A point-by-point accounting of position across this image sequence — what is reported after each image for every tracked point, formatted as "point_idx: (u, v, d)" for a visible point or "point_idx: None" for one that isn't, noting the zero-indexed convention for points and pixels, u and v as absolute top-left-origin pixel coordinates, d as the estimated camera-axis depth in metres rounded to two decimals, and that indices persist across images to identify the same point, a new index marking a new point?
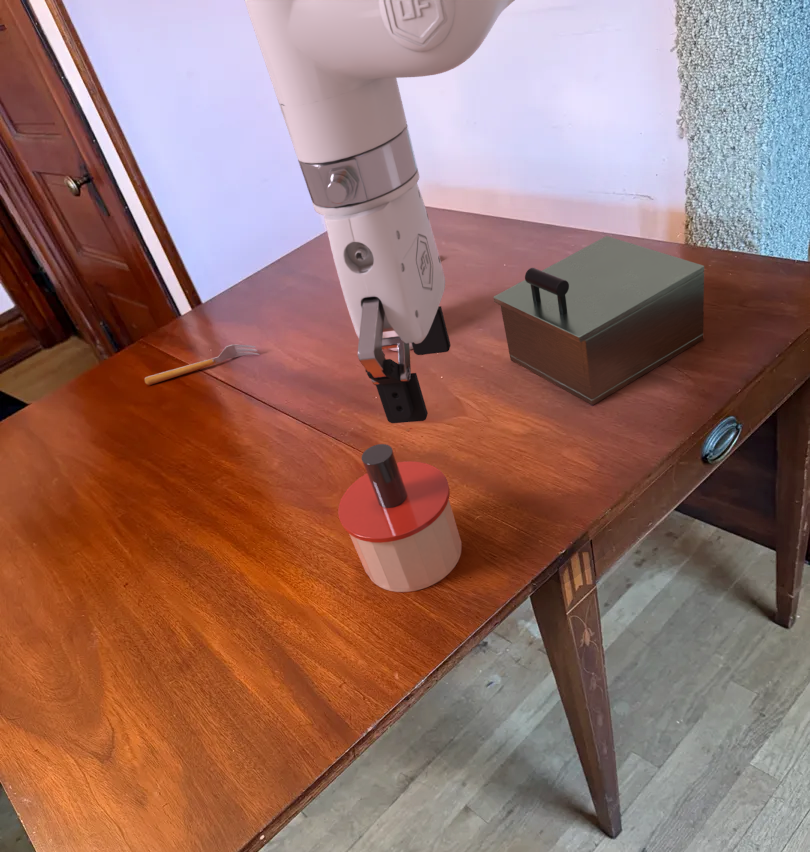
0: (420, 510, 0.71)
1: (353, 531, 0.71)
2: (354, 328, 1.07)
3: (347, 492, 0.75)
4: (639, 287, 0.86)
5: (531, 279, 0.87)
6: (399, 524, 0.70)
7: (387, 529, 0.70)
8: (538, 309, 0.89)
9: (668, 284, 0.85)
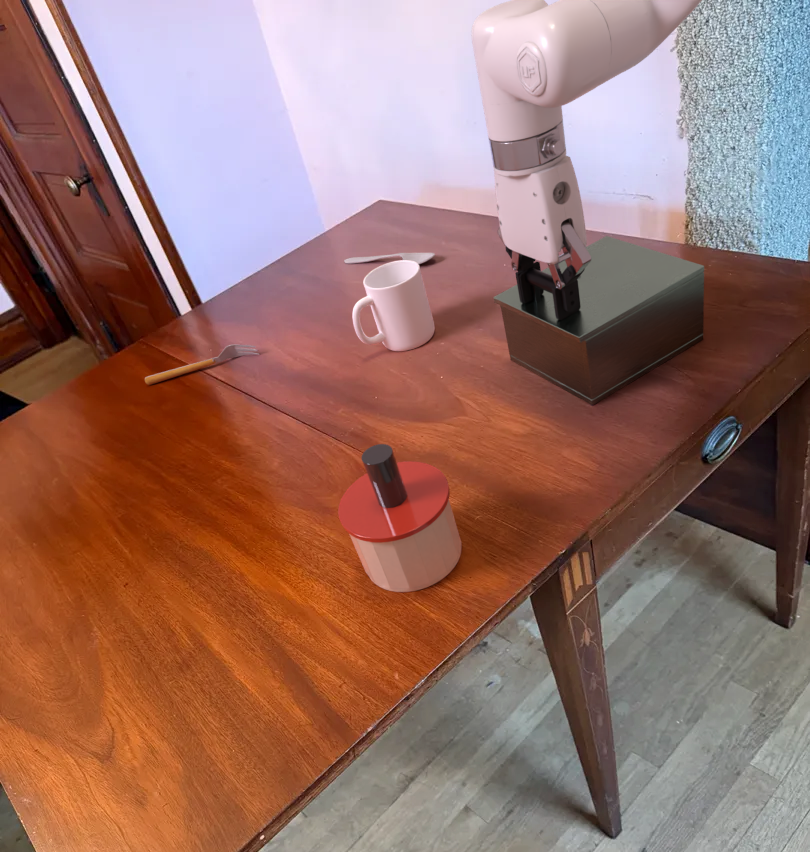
0: (420, 510, 0.71)
1: (353, 531, 0.71)
2: (354, 328, 1.07)
3: (347, 492, 0.75)
4: (639, 287, 0.86)
5: (531, 279, 0.87)
6: (399, 524, 0.70)
7: (387, 529, 0.70)
8: (538, 309, 0.89)
9: (668, 284, 0.85)
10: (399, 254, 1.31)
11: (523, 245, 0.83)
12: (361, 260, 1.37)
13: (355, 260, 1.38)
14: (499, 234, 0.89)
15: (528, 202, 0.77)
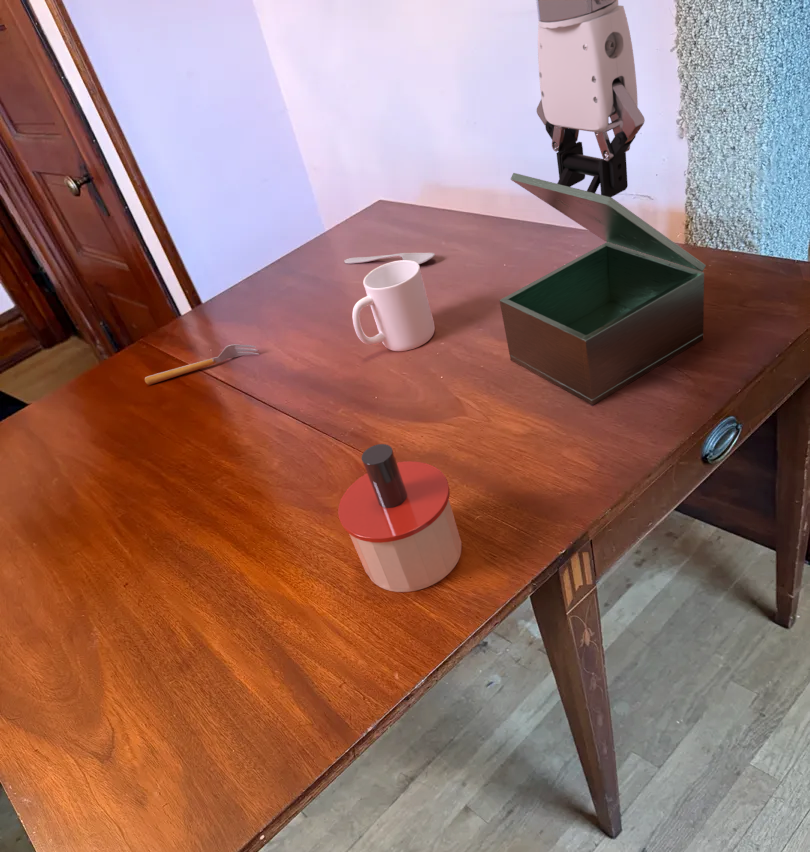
0: (420, 510, 0.71)
1: (353, 531, 0.71)
2: (354, 328, 1.07)
3: (347, 492, 0.75)
4: None
5: (573, 157, 0.82)
6: (399, 524, 0.70)
7: (387, 529, 0.70)
8: None
9: None
10: (399, 254, 1.31)
11: (568, 114, 0.77)
12: (361, 260, 1.37)
13: (355, 260, 1.38)
14: (538, 112, 0.83)
15: (577, 58, 0.72)
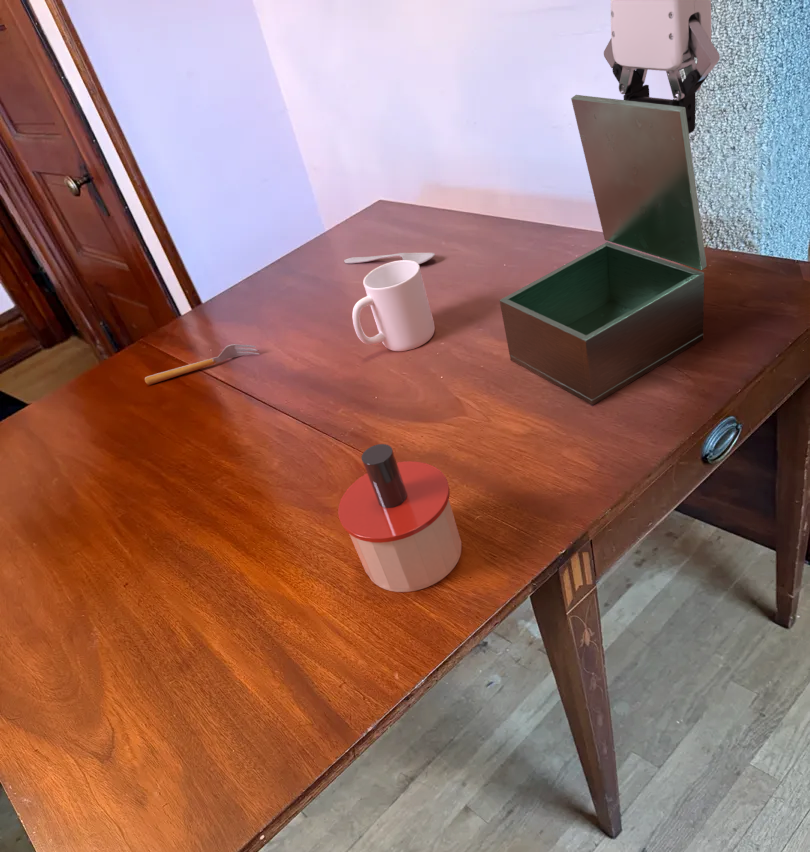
0: (420, 510, 0.71)
1: (353, 531, 0.71)
2: (354, 328, 1.07)
3: (347, 492, 0.75)
4: None
5: (641, 96, 0.82)
6: (399, 524, 0.70)
7: (387, 529, 0.70)
8: None
9: None
10: (399, 254, 1.31)
11: (640, 54, 0.78)
12: (361, 260, 1.37)
13: (355, 260, 1.38)
14: (606, 55, 0.84)
15: None
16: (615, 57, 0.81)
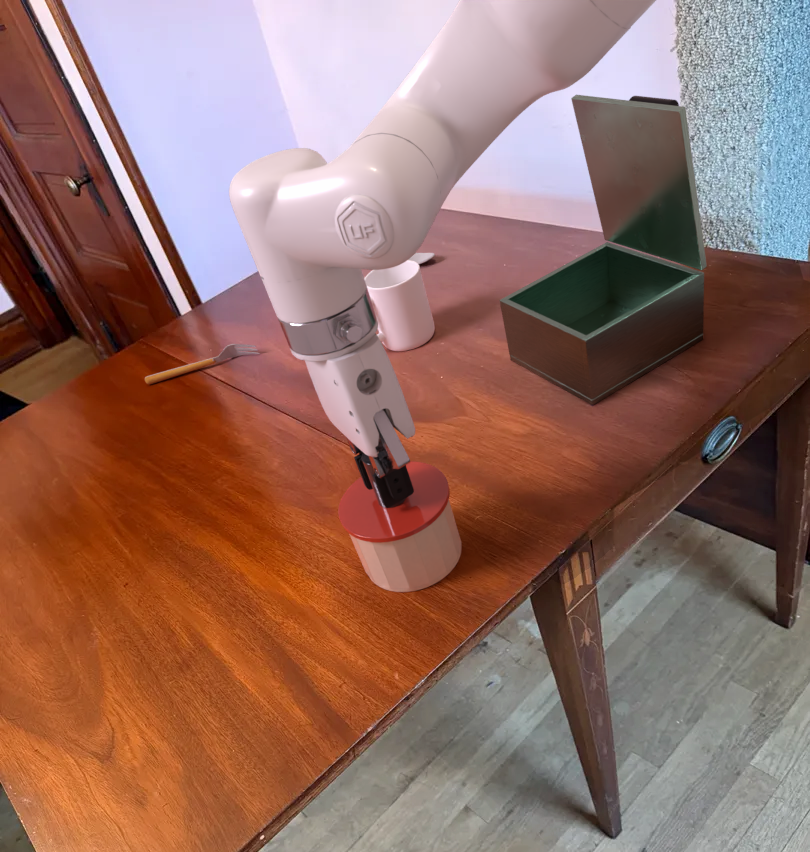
0: (420, 510, 0.71)
1: (353, 531, 0.71)
2: None
3: (347, 492, 0.75)
4: None
5: (641, 96, 0.82)
6: (399, 524, 0.70)
7: (387, 529, 0.70)
8: None
9: None
10: None
11: (341, 427, 0.66)
12: None
13: None
14: None
15: (332, 389, 0.61)
16: (326, 414, 0.69)
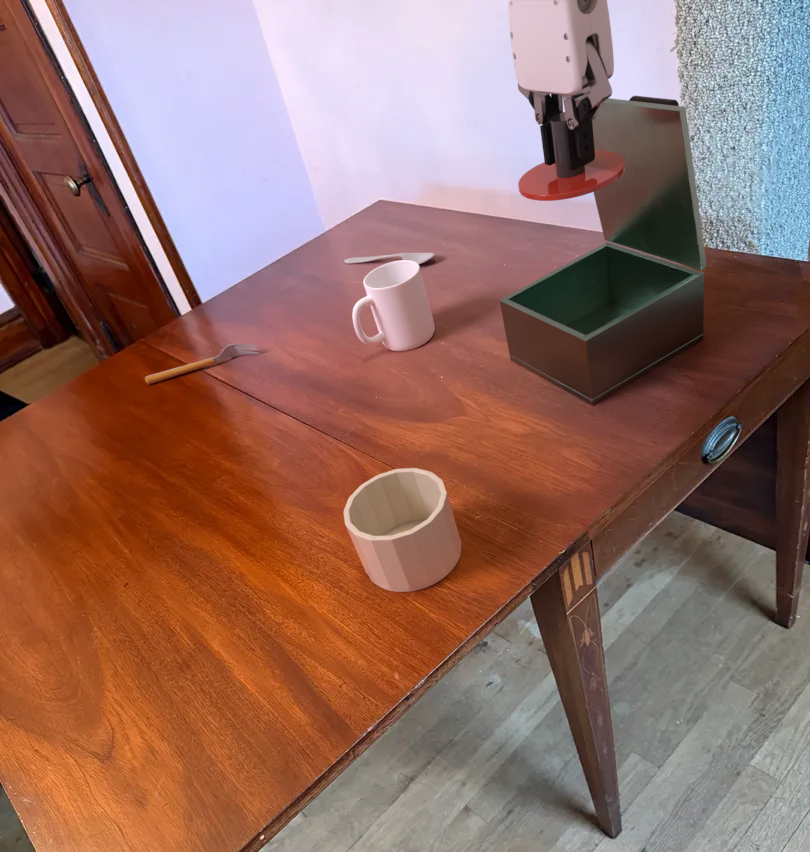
0: (602, 173, 0.77)
1: (539, 194, 0.77)
2: (354, 328, 1.07)
3: (523, 177, 0.82)
4: None
5: (641, 96, 0.82)
6: (584, 183, 0.76)
7: (573, 187, 0.76)
8: None
9: None
10: (399, 254, 1.31)
11: (541, 77, 0.72)
12: (361, 260, 1.37)
13: (355, 260, 1.38)
14: (520, 88, 0.78)
15: (548, 15, 0.67)
16: (518, 80, 0.76)
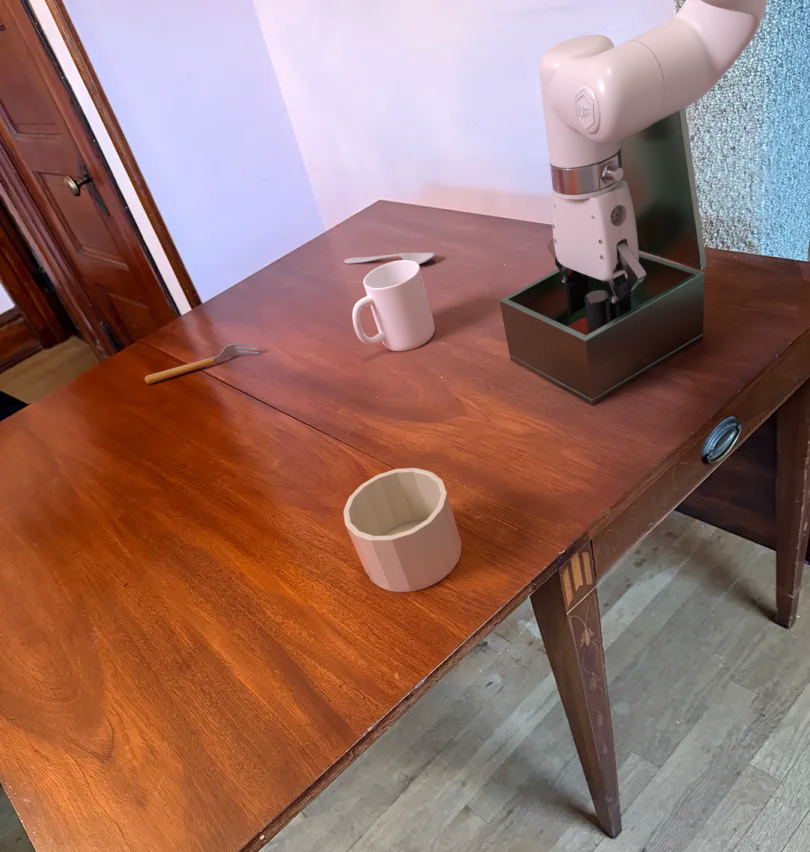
0: None
1: None
2: (354, 328, 1.07)
3: None
4: None
5: None
6: None
7: None
8: None
9: None
10: (399, 254, 1.31)
11: (577, 262, 0.88)
12: (361, 260, 1.37)
13: (355, 260, 1.38)
14: (549, 247, 0.94)
15: (586, 223, 0.82)
16: (558, 258, 0.91)
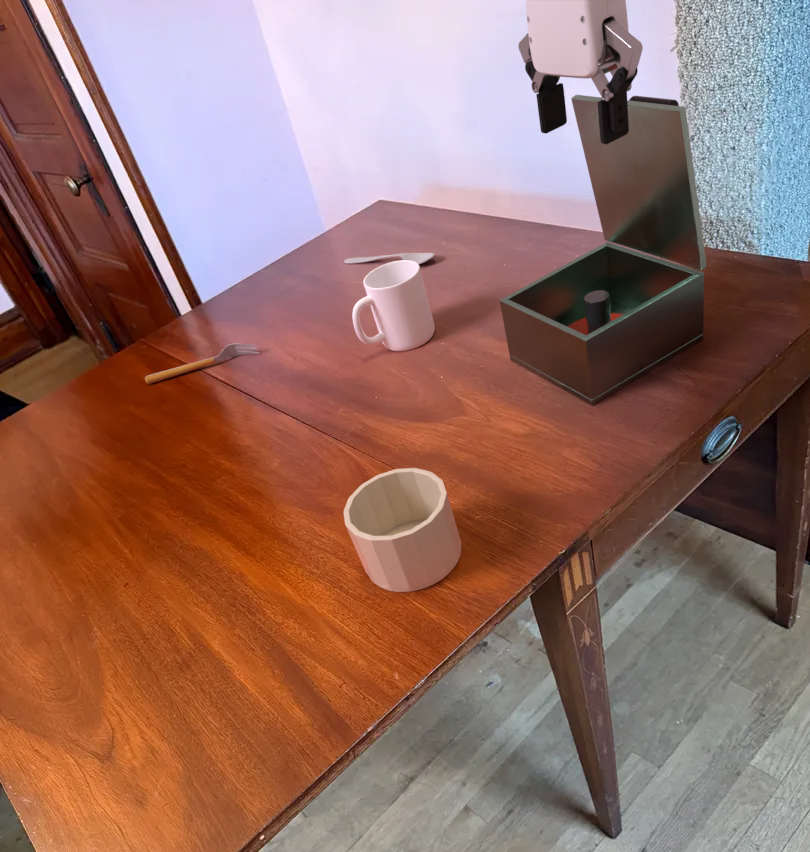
0: None
1: None
2: (354, 328, 1.07)
3: None
4: None
5: (641, 96, 0.82)
6: None
7: None
8: None
9: None
10: (399, 254, 1.31)
11: (557, 60, 0.74)
12: (361, 260, 1.37)
13: (355, 260, 1.38)
14: (520, 48, 0.80)
15: None
16: (534, 64, 0.77)
